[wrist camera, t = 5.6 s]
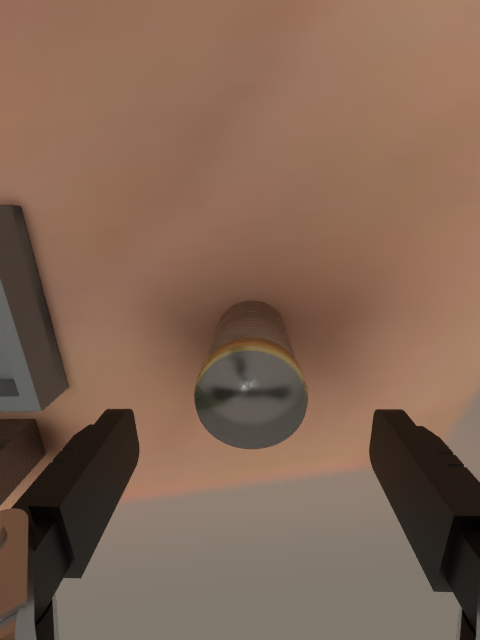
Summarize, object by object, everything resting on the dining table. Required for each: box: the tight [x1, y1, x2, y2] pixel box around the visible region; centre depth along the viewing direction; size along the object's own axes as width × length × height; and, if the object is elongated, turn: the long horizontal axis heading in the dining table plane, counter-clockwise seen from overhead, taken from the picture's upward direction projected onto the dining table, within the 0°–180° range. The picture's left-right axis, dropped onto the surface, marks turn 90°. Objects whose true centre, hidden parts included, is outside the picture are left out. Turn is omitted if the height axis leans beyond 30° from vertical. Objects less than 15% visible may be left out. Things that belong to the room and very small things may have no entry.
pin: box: [194, 301, 308, 449], centre depth 14 cm, size 4×4×7 cm
